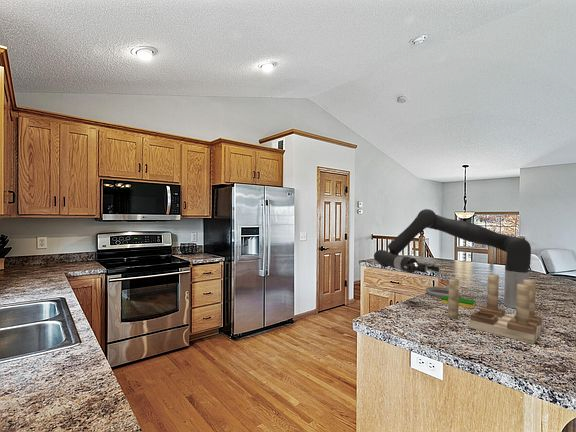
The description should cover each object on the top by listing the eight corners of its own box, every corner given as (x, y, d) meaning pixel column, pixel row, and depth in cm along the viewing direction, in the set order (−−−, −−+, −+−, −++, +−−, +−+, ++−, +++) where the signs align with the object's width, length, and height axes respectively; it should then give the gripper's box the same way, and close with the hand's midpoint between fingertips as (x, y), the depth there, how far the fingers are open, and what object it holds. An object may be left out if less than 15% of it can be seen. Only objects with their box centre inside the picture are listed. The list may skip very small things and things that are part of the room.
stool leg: (453, 315, 137) (454, 278, 136) (460, 318, 133) (461, 280, 133) (445, 316, 136) (447, 279, 135) (452, 319, 132) (453, 281, 132)
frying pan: (464, 286, 183) (457, 295, 161) (463, 291, 183) (457, 301, 161) (432, 281, 193) (422, 290, 170) (432, 286, 193) (421, 295, 170)
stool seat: (483, 316, 137) (485, 272, 136) (542, 329, 122) (544, 280, 122) (469, 327, 123) (470, 278, 122) (533, 343, 108) (535, 288, 108)
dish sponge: (443, 300, 162) (443, 295, 162) (474, 305, 154) (474, 300, 154) (440, 303, 157) (440, 298, 157) (472, 308, 148) (473, 303, 148)
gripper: (394, 256, 156) (420, 262, 141) (416, 256, 162) (443, 261, 147) (394, 272, 156) (420, 279, 141) (415, 270, 162) (442, 277, 147)
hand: (431, 270), depth 144 cm, fingers open, 8 cm apart
